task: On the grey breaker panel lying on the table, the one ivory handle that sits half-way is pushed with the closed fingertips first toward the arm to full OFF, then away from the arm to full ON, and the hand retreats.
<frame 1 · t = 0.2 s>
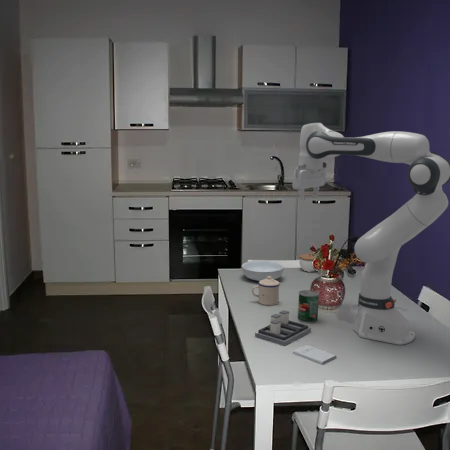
hand: (308, 198, 227), 48 cm above the table, tool pointing down, fingers open, 8 cm apart
breaker near: (283, 317, 217), point 4 cm above the table, slide at 7.0 cm
serving bowl: (262, 279, 284), on the table
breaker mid: (275, 321, 213), point 4 cm above the table, slide at 7.0 cm
panel: (283, 334, 212), on the table
teacup with lid: (265, 302, 248), on the table
tripped breaker: (275, 327, 207), point 4 cm above the table, slide at 3.5 cm
external hard drive: (314, 357, 193), on the table
lidded jar: (309, 271, 301), on the table
canned tomato: (307, 319, 228), on the table
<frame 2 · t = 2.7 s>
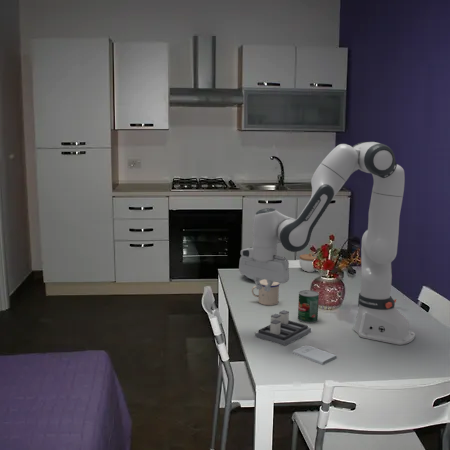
hand: (263, 290, 208), 17 cm above the table, tool pointing down, fingers closed
nothing on the table moved.
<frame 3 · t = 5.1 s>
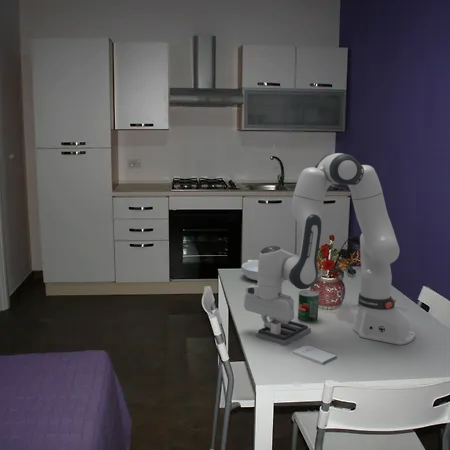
hand: (268, 327, 209), 3 cm above the table, tool pointing down, fingers closed
tripped breaker: (275, 327, 207), point 4 cm above the table, slide at 3.4 cm, touching gripper
everything else where it was.
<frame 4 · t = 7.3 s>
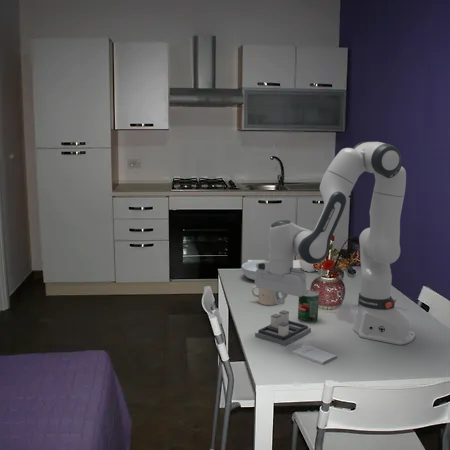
hand: (279, 303, 204), 14 cm above the table, tool pointing down, fingers closed
tripped breaker: (283, 330, 204), point 4 cm above the table, slide at 0.0 cm
everything else where it was.
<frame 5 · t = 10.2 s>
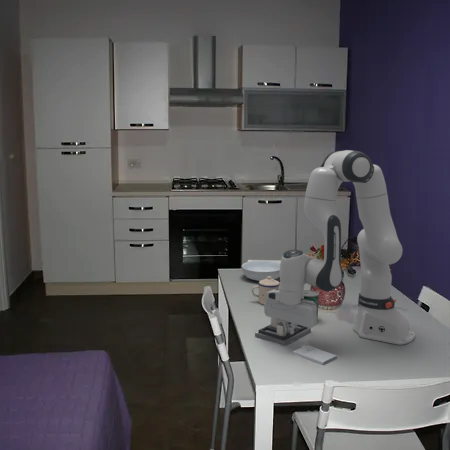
hand: (289, 333, 203), 4 cm above the table, tool pointing down, fingers closed
tripped breaker: (281, 329, 205), point 4 cm above the table, slide at 0.7 cm, touching gripper
everything else where it was.
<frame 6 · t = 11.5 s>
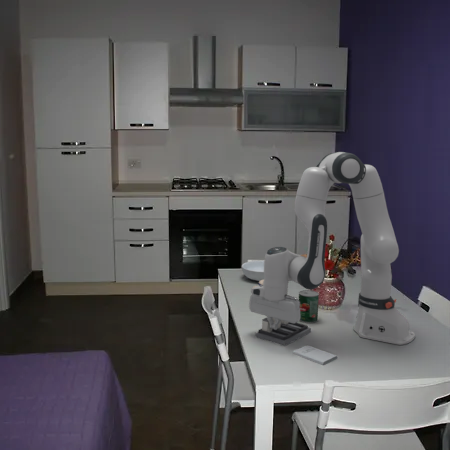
hand: (273, 328, 207), 4 cm above the table, tool pointing down, fingers closed
tripped breaker: (267, 325, 209), point 4 cm above the table, slide at 7.1 cm, touching gripper
everything else where it was.
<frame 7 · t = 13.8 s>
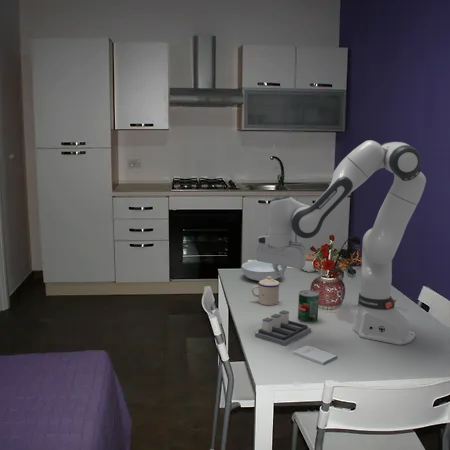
hand: (279, 276, 212), 21 cm above the table, tool pointing down, fingers closed
tripped breaker: (267, 325, 209), point 4 cm above the table, slide at 7.0 cm
everything else where it was.
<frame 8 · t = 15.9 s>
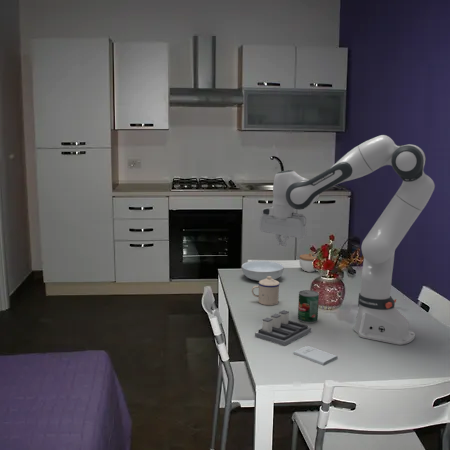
hand: (281, 245, 226), 29 cm above the table, tool pointing down, fingers closed
nothing on the table moved.
at the end: tripped breaker slide at 7.0 cm; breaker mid slide at 7.0 cm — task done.
